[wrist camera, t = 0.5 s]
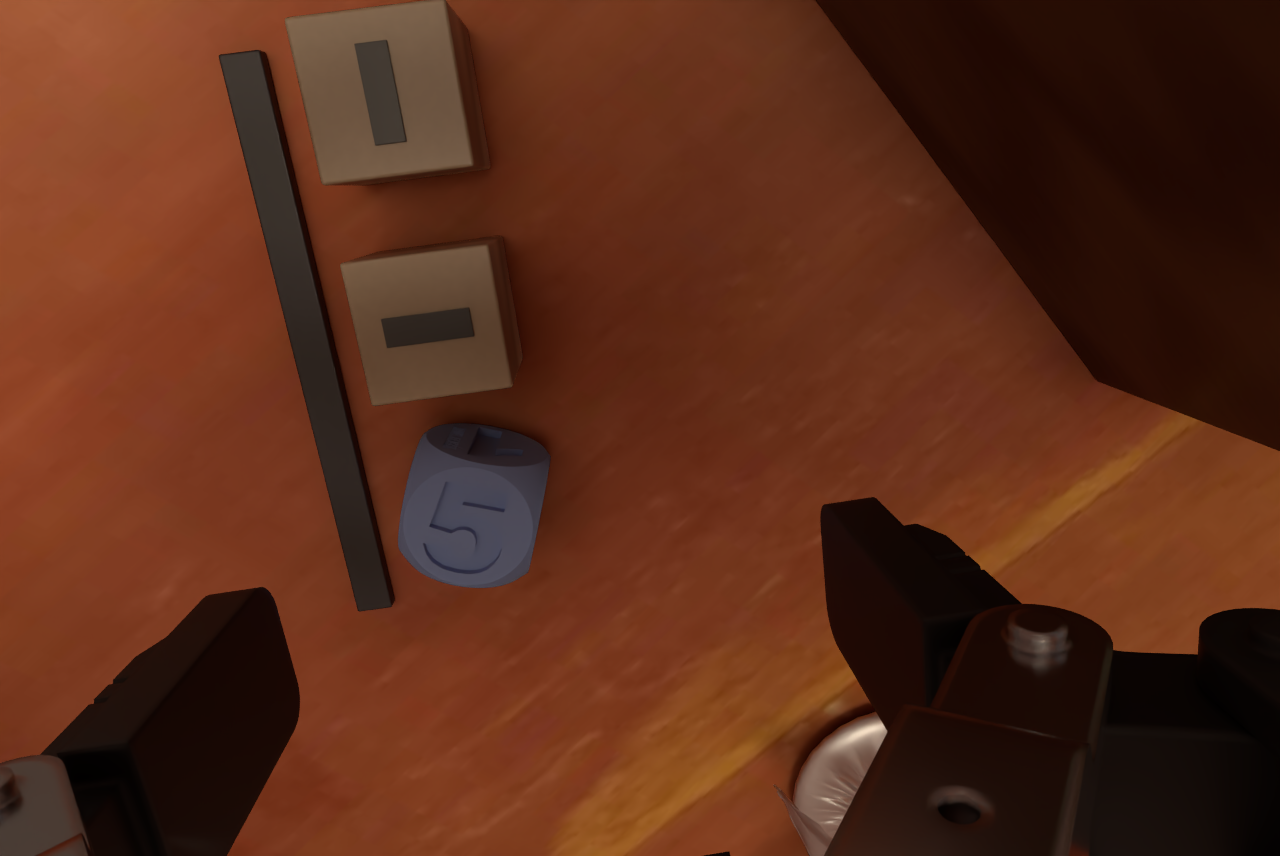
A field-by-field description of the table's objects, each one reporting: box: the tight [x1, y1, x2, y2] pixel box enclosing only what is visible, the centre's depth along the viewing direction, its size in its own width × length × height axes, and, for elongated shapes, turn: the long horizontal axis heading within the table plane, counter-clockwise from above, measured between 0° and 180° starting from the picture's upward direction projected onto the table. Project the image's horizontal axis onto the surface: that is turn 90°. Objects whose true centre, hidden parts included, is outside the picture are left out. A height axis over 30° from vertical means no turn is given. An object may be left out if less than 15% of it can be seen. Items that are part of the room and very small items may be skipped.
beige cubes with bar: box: [219, 0, 523, 611], centre depth 25 cm, size 18×7×4 cm, turn 7°
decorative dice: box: [398, 423, 551, 588], centre depth 26 cm, size 4×4×4 cm
